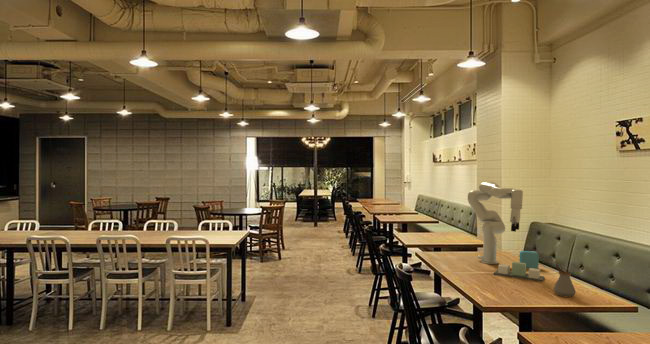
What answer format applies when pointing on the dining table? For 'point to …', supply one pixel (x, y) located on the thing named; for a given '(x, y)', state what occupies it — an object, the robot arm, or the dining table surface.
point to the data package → (529, 259)
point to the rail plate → (519, 276)
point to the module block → (518, 268)
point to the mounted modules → (531, 272)
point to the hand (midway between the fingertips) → (515, 230)
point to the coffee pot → (564, 284)
